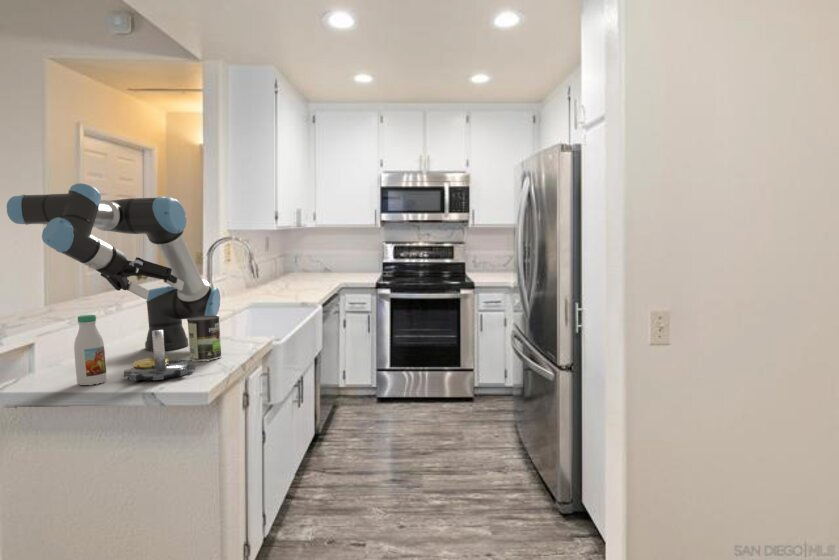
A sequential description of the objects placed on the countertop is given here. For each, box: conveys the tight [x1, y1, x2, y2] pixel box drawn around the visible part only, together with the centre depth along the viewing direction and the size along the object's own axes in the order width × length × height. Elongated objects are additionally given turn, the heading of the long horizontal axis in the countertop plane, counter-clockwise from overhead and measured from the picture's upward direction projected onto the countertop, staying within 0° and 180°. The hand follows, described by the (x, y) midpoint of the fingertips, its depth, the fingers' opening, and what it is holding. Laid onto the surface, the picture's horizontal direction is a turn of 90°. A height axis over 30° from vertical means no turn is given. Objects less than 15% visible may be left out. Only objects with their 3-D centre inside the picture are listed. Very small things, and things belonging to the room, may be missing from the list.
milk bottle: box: [73, 314, 108, 386], centre depth 173 cm, size 8×8×20 cm
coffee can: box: [186, 315, 223, 362], centre depth 202 cm, size 10×10×14 cm
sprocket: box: [123, 330, 195, 382], centre depth 180 cm, size 20×20×14 cm
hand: (164, 290), depth 174 cm, fingers open, 13 cm apart
